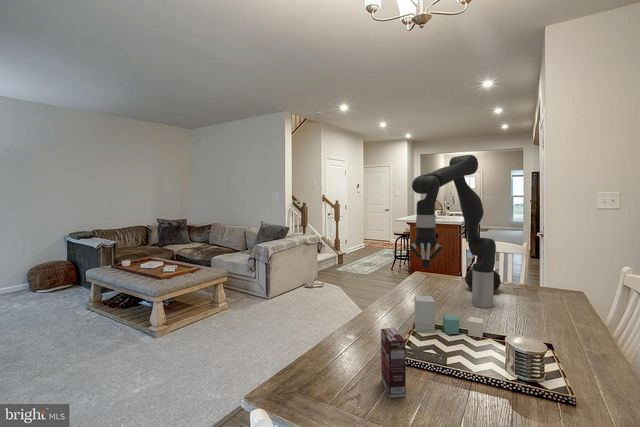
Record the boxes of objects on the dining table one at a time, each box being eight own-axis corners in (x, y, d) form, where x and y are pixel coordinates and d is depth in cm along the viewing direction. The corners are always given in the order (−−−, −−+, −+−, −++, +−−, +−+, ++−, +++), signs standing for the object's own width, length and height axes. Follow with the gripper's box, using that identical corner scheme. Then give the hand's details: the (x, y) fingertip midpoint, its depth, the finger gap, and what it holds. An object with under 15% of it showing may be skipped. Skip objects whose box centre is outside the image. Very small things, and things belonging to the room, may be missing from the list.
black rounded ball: (501, 297, 172) (502, 244, 170) (464, 293, 179) (465, 243, 178) (499, 288, 188) (500, 240, 186) (465, 285, 196) (465, 238, 194)
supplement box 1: (380, 380, 96) (380, 328, 96) (396, 379, 97) (396, 327, 96) (389, 398, 88) (388, 341, 87) (406, 397, 88) (406, 340, 87)
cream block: (468, 331, 130) (469, 316, 130) (482, 333, 128) (483, 318, 128) (468, 336, 126) (468, 321, 125) (482, 338, 123) (482, 323, 123)
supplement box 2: (435, 333, 129) (435, 301, 128) (415, 331, 130) (415, 300, 130) (432, 325, 136) (432, 296, 135) (414, 324, 138) (414, 295, 137)
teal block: (442, 329, 133) (442, 314, 132) (455, 329, 132) (455, 315, 132) (445, 334, 128) (445, 319, 127) (458, 335, 127) (459, 319, 127)
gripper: (443, 225, 132) (442, 267, 133) (409, 224, 137) (409, 265, 138) (443, 227, 125) (443, 271, 126) (407, 226, 130) (408, 269, 131)
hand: (425, 268), depth 132 cm, fingers closed
